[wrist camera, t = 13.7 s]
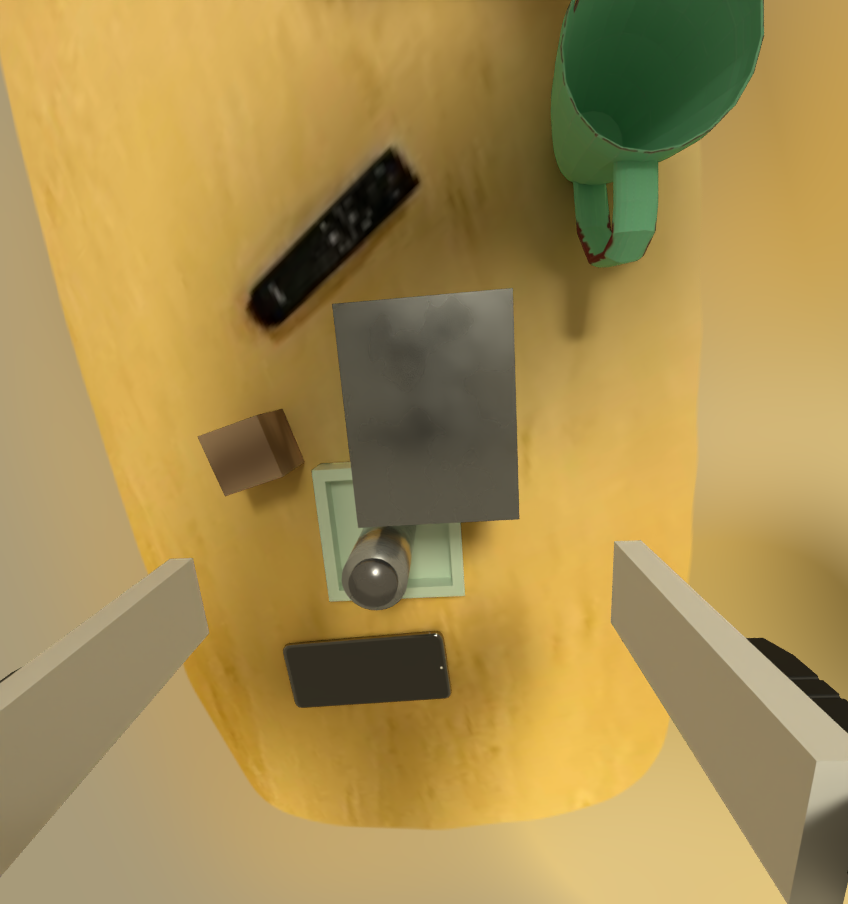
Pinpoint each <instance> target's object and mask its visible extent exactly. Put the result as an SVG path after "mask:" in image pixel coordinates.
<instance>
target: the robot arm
mask: <svg viewBox="0 0 848 904" xmlns="http://www.w3.org/2000/svg"><path fill="white" fill-rule="evenodd" d="M611 623H612V625H613V626H614V628H615V630H616V631H617V633H618V634H619V636H620V638H621V639H622V641H623V642H624V644H625V646H626V647H627V649H628V650H629V652H630V654H631V655H632V657H633V658H634V660H635V662H636V663H637V665H638V666H639V668H640V670H641V671H642V673H643V674H644V676H645V678H646V679H647V681H648V682H649V684H650V685H651V687H652V689H653V690H654V692H655V693H656V695H657V697H658V698H659V700H660V701H661V703H662V705H663V706H664V708H665V709H666V711H667V713H668V714H669V716H670V717H671V719H672V721H673V722H674V724H675V725H676V727H677V729H678V730H679V732H680V733H681V735H682V737H683V738H684V740H685V741H686V742H687V745H688V746H689V748H690V749H691V751H692V752H693V754H694V756H695V757H696V759H697V760H698V762H699V764H700V765H701V767H702V768H703V770H704V771H705V773H706V775H707V776H708V778H709V780H710V781H711V783H712V784H713V786H714V787H715V789H716V791H717V792H718V794H719V795H720V797H721V799H722V800H723V802H724V803H725V805H726V807H727V808H728V810H729V811H730V813H731V815H732V816H733V818H734V819H735V821H736V822H737V824H738V826H739V827H740V829H741V831H742V832H743V834H744V835H745V837H746V839H747V840H748V842H749V843H750V845H751V846H752V848H753V850H754V851H755V853H756V855H757V856H758V858H759V859H760V861H761V862H762V864H763V866H764V867H765V869H766V870H767V872H768V874H769V875H770V877H771V878H772V880H773V881H774V883H775V885H776V886H777V888H778V890H779V891H780V893H781V894H782V896H783V897H784V899H785V901H786V902H787V904H843V901H844V897H845V892H846V888H847V883H848V701H847V700H845V699H841V698H840V696H839V694H838V693H837V692H836V691H835V690H834V689H833V688H831V687H830V686H829V685H828V684H827V683H826V682H824V681H823V680H819V678H818V676H817V675H816V674H815V673H814V672H813V671H812V670H810V669H809V668H808V667H807V666H806V665H805V664H803V663H802V662H801V661H800V660H799V659H797V658H796V657H795V656H794V655H793V654H791V653H789V652H787V651H785V650H784V649H782V648H780V647H778V646H776V645H775V644H773V643H771V642H769V641H768V640H766V639H764V638H745V637H744V636H743V635H742V634H741V633H739V632H738V631H737V630H736V629H735V628H734V627H733V626H732V625H731V624H730V623H729V622H728V621H727V620H726V619H725V618H723V617H722V616H721V615H720V614H719V613H718V612H717V611H716V610H715V609H714V608H713V607H712V606H711V605H709V604H708V603H707V602H706V601H705V600H704V599H703V598H702V597H701V596H700V595H699V594H698V593H697V592H696V591H695V590H693V589H692V588H691V587H690V586H689V585H688V584H687V583H686V582H685V581H684V580H683V579H682V578H681V577H680V576H678V575H677V574H676V573H675V572H674V571H673V570H672V569H671V568H670V567H669V566H668V565H667V564H666V563H665V562H663V561H662V560H661V559H660V558H659V557H658V556H657V555H656V554H655V553H654V552H653V551H652V550H651V549H650V548H648V547H647V546H646V545H645V544H644V543H643V542H642V541H641V540H639V541H614V562H613V585H612V608H611ZM208 634H209V629H208V625H207V620H206V616H205V611H204V607H203V602H202V598H201V593H200V589H199V584H198V580H197V575H196V571H195V566H194V561H193V558H182V559H169V560H168V561H166V562H165V563H164V564H162V565H161V566H160V567H158V568H157V569H156V570H154V571H153V572H151V573H150V574H149V575H147V576H146V577H145V578H143V579H142V580H141V581H139V582H138V583H136V584H135V585H134V586H132V587H131V588H130V589H128V590H127V591H126V592H124V593H123V594H121V595H120V596H119V597H117V598H116V599H115V600H113V601H112V602H111V603H109V604H108V605H107V606H105V607H104V608H103V609H101V610H100V611H98V612H97V613H96V614H94V615H93V616H91V617H90V618H89V619H87V620H86V621H85V622H83V623H82V624H81V625H79V626H78V627H76V628H75V629H74V630H72V631H71V632H70V633H68V634H67V635H66V636H64V637H63V638H61V639H60V640H59V641H57V642H56V643H55V644H53V645H52V646H50V647H49V648H48V649H47V650H45V651H44V652H42V653H41V654H40V655H38V656H37V657H35V658H34V659H33V660H31V661H30V662H29V663H27V664H26V665H25V666H23V667H21V668H19V669H18V670H16V671H14V672H12V673H11V674H9V675H8V676H7V677H5V678H4V679H2V680H1V681H0V877H1V876H2V874H3V873H4V872H5V871H6V870H7V869H8V868H9V866H10V865H11V864H12V863H13V862H14V861H15V859H16V858H17V857H18V856H19V855H20V853H21V852H22V851H23V850H24V849H25V848H26V846H27V845H28V844H29V843H30V842H31V841H32V839H33V838H34V837H35V836H36V835H37V834H38V832H39V831H40V830H41V829H42V828H43V827H44V825H45V824H46V823H47V822H48V821H49V820H50V818H51V817H52V816H53V815H54V814H55V813H56V811H57V810H58V809H59V808H60V807H61V806H62V804H63V803H64V802H65V801H66V800H67V799H68V797H69V796H70V795H71V794H72V793H73V792H74V790H75V789H76V788H77V787H78V786H79V784H80V783H81V782H82V781H83V780H84V779H85V778H86V776H87V775H88V774H89V773H90V772H91V770H92V769H93V768H94V767H95V766H96V765H97V764H98V762H99V761H100V760H101V759H102V758H103V756H104V755H105V754H106V753H107V752H108V751H109V749H110V748H111V747H112V746H113V745H114V744H115V742H116V741H117V740H118V739H119V738H120V737H121V735H122V734H123V733H124V732H125V731H126V730H127V728H128V727H129V726H130V725H131V724H132V723H133V721H134V720H135V719H136V718H137V717H138V716H139V714H140V713H141V712H142V711H143V710H144V708H145V707H146V706H147V705H148V704H149V703H150V702H151V700H152V699H153V698H154V697H155V696H156V694H157V693H158V692H159V691H160V690H161V689H162V688H163V686H164V685H165V684H166V683H167V682H168V680H169V679H170V678H171V677H172V676H173V674H175V672H176V671H177V670H178V669H179V668H180V667H181V665H182V664H183V663H184V662H185V661H186V659H187V658H188V657H189V656H190V655H191V654H192V652H193V651H194V650H195V649H196V648H197V647H198V645H199V644H200V643H201V642H202V641H203V640H204V638H205V637H206V636H207V635H208Z"/></svg>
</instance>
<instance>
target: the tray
mask: <svg viewBox="0 0 848 904" xmlns="http://www.w3.org/2000/svg"><path fill="white" fill-rule="evenodd" d="M312 478H313V485H314V493H315V500H316V507H317V515H318V522H319V529H320V537H321V544H322V551H323V559H324V566H325V573H326V581H327V588H328V595H329V602H330V601H352V600H351V599H350V598H349V597H348V596H347V594H346V593H345V591H344V589H343V586H342V571H343V568H344V566H345V564H346V562H347V560H348V558H349V556H350V554H351V552H352V550H353V548H354V546H355V544H356V542H357V540H358V538H359V536H360V534H361V532H362V530H363V528H358V523H357V515H356V506H355V497H354V489H353V480H352V472H351V463H350V462H338V463H322V464H319V465H318V466H317V467H316V468H314V469H313V470H312ZM448 596H465V588H464V571H463V555H462V538H461V522H458V523H440V524H421V525H416V534H415V540H414V546H413V553H412V559H411V565H410V571H409V577H408V583H407V588H406V592H405V594H404V596H403V597H402V598H424V597H448Z"/></svg>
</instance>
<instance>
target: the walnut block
mask: <svg viewBox="0 0 848 904" xmlns="http://www.w3.org/2000/svg"><path fill="white" fill-rule="evenodd" d="M198 439H199V441H200V443H201V445H202V448H203V450H204V452H205V454H206V456H207V458H208V461H209V463H210V465H211V467H212V469H213V471H214V474H215V476H216V478H217V480H218V482H219V484H220V487H221V489H222V491H223V493H224V495H225V496H227V495H230V494H233V493H236V492H239V491H242V490H245V489H248V488H251V487H254V486H257V485H260V484H263V483H266V482H269V481H272V480H275V479H277V478H280V477H283V476H285V475H286V474H288V473H289V472H290V471H292V470H293V469H295V468H296V467H298V466H299V465H301V464H302V463H304V460H303V457H302V455H301V452H300V450H299V447H298V445H297V443H296V440H295V438H294V435H293V433H292V431H291V428H290V426H289V423H288V421H287V419H286V416H285V414H284V411H283V409H280V410H276V411H272V412H268V413H264V414H260V415H256V416H253V417H250V418H248V419H245V420H242V421H239V422H237V423H234V424H231V425H228V426H225V427H223V428H220V429H217V430H214V431H212V432H209V433H206V434H203V435H201V436H198Z"/></svg>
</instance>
